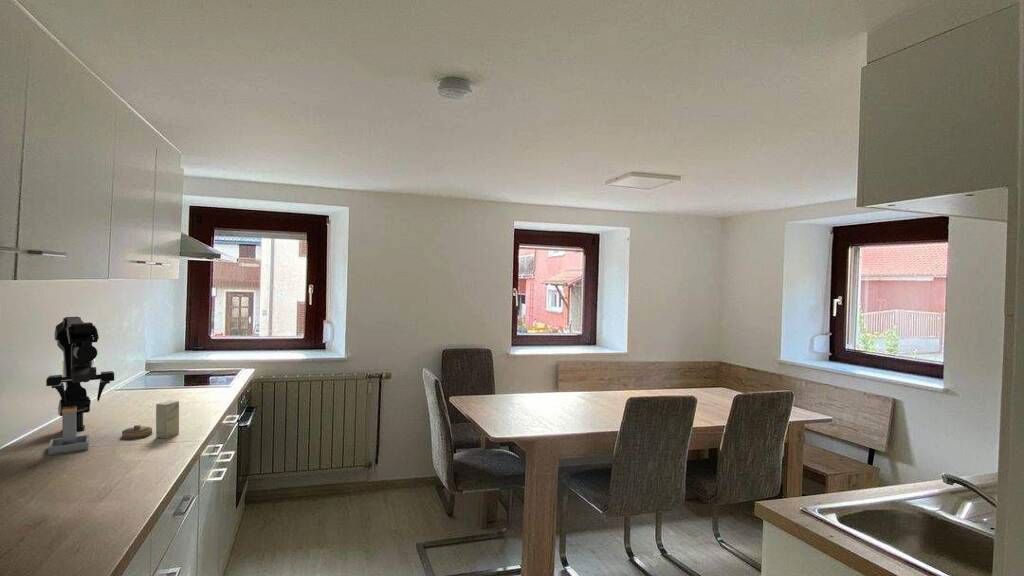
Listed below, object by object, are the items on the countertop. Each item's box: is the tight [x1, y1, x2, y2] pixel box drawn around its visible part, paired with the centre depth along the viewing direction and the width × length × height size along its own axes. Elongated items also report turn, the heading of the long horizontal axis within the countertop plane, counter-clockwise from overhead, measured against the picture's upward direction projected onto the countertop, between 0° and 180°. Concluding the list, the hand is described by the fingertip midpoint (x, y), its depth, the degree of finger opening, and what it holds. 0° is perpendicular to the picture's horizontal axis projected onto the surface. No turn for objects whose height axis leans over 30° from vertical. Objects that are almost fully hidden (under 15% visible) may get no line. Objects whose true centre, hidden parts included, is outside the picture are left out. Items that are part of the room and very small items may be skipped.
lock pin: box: [61, 406, 77, 445], centre depth 186 cm, size 4×4×13 cm
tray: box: [47, 434, 90, 456], centre depth 186 cm, size 10×10×2 cm
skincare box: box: [155, 400, 180, 439], centre depth 202 cm, size 6×4×12 cm
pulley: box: [121, 424, 153, 440], centre depth 201 cm, size 9×9×4 cm
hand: (81, 402), depth 195 cm, fingers open, 9 cm apart
